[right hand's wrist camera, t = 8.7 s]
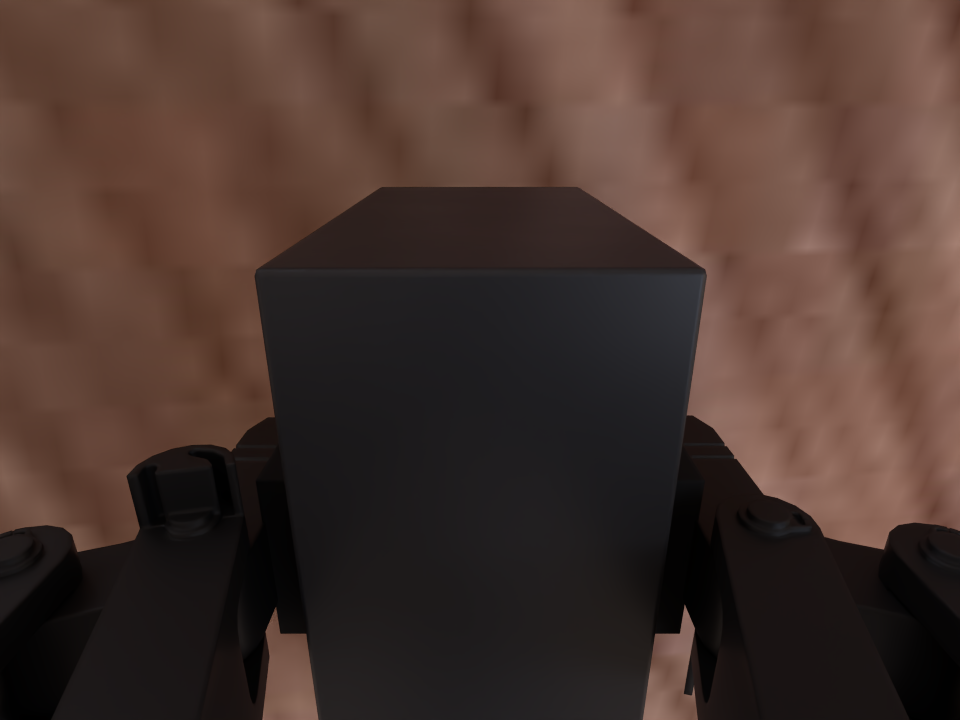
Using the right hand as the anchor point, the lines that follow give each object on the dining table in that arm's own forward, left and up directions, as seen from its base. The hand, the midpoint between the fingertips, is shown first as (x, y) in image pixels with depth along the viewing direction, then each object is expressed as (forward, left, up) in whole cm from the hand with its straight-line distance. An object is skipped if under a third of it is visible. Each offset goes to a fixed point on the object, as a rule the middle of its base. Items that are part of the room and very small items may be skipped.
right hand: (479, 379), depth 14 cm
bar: (+9, +3, -1) cm, 10 cm away
